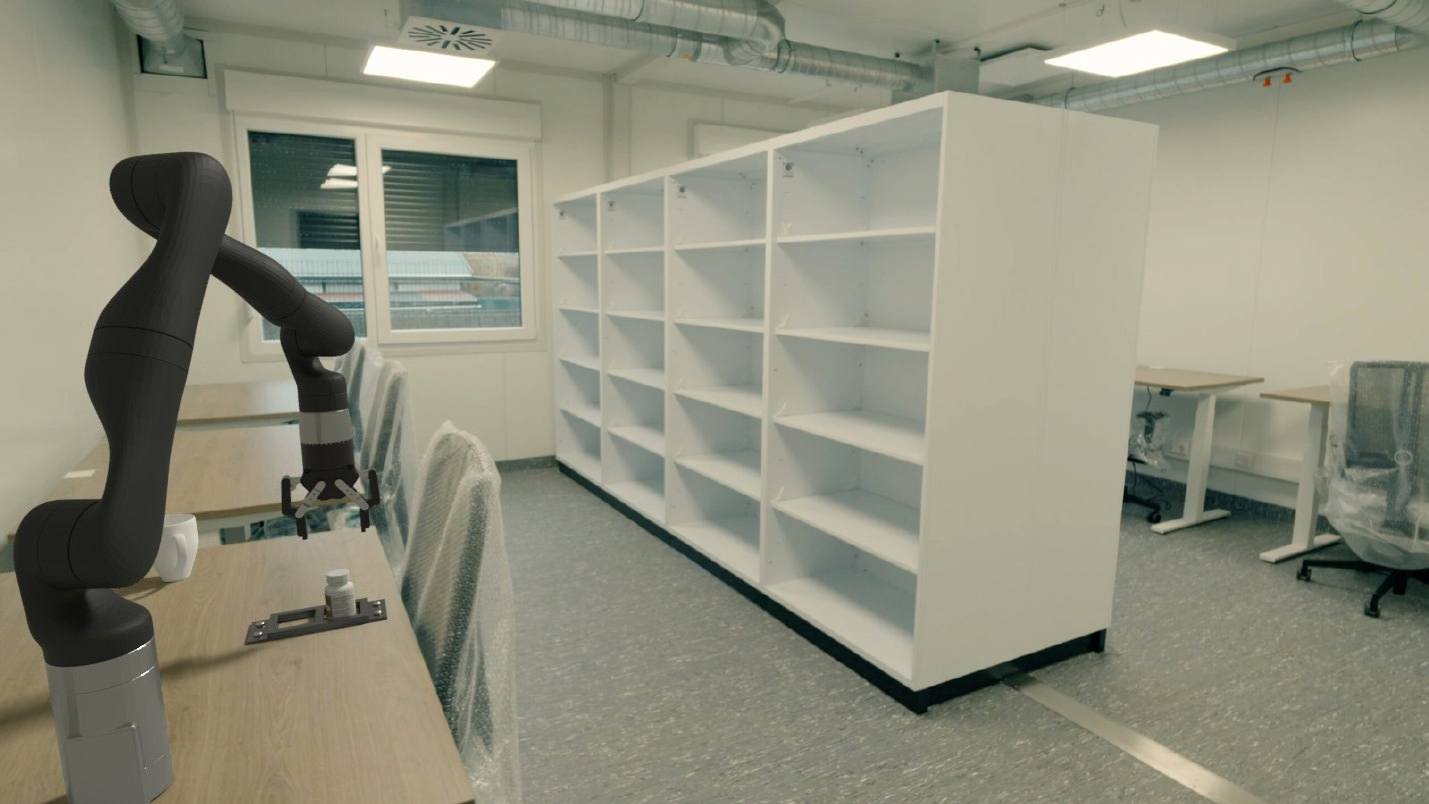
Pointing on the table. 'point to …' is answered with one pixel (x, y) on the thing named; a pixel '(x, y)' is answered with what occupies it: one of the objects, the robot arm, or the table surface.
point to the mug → (177, 547)
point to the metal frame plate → (270, 631)
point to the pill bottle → (339, 594)
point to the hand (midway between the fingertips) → (335, 534)
